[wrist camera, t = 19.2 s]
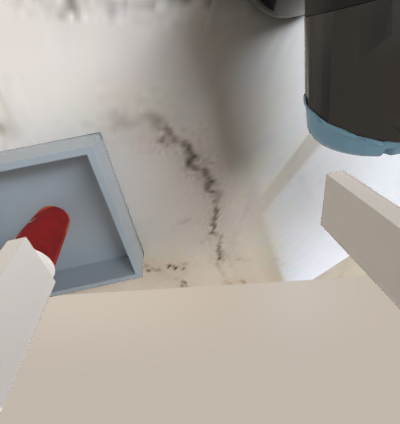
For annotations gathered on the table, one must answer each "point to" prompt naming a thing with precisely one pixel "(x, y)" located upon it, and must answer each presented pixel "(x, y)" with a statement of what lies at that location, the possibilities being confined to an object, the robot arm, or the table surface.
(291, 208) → the table surface
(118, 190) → the bin
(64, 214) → the paper cup
